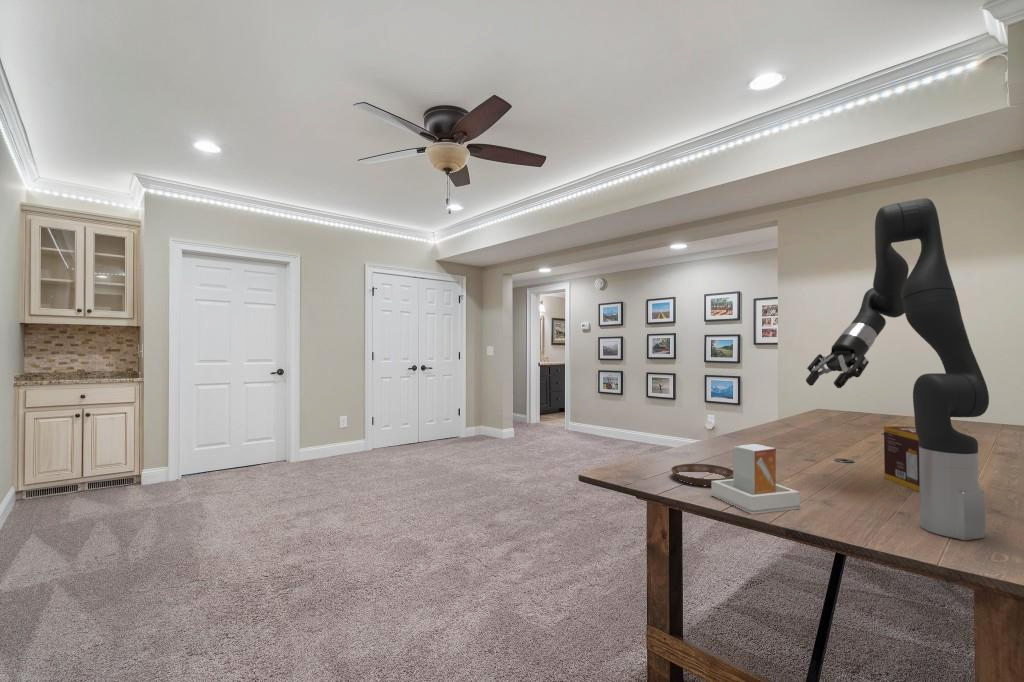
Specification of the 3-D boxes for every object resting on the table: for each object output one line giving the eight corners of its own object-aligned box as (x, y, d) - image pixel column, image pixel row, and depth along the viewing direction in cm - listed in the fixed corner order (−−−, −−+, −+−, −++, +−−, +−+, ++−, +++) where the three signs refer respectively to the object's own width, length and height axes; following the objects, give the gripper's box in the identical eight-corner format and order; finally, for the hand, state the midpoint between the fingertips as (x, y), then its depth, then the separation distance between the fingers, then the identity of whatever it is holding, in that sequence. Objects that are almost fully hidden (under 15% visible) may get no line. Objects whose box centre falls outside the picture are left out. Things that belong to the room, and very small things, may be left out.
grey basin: (799, 508, 115) (799, 491, 115) (751, 514, 111) (751, 496, 111) (755, 491, 128) (755, 476, 128) (711, 496, 124) (711, 480, 125)
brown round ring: (671, 486, 134) (671, 475, 134) (670, 471, 151) (670, 461, 151) (740, 491, 129) (740, 480, 129) (731, 475, 146) (731, 465, 146)
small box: (755, 504, 115) (754, 450, 115) (732, 497, 121) (732, 446, 121) (777, 500, 119) (776, 447, 119) (754, 493, 124) (753, 443, 125)
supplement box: (920, 478, 141) (920, 425, 141) (965, 494, 125) (964, 435, 126) (883, 477, 142) (882, 425, 142) (922, 493, 126) (921, 434, 127)
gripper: (823, 333, 139) (792, 373, 136) (872, 332, 125) (838, 376, 122) (838, 352, 140) (807, 391, 137) (887, 352, 127) (855, 396, 124)
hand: (822, 384), depth 130 cm, fingers open, 8 cm apart
